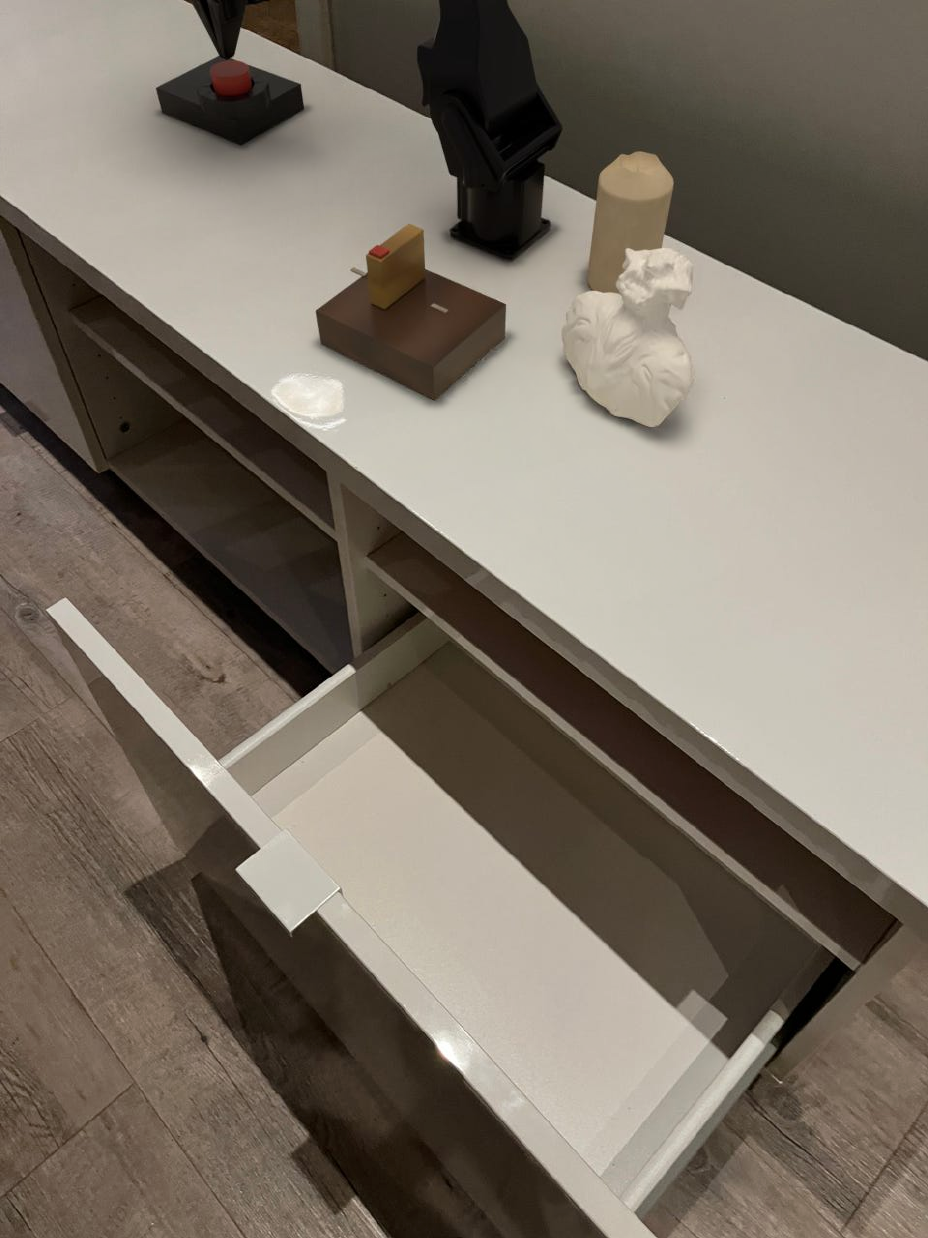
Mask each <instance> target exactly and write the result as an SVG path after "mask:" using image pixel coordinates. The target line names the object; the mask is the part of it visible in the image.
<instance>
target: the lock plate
mask: <svg viewBox="0 0 928 1238" xmlns="http://www.w3.org/2000/svg"><path fill="white" fill-rule="evenodd" d="M350 272H352V273H354V274H356V275H358V276H360V277H359V278H357V279H356V280H355V281H353V282H352V283H350V284H349V285H348V286H346V287H345V288H344V289H342V290H341V291H339V293H337V294H336V295H334V296H333V297H332V298H330V299H328V301H326V302H325V303H323V304H322V305H320V307H318V308H317V309H316V310H315V317H316V322H317V329H318V335H319V341H320V345H322V346H324V347H327V348H328V349H331V350H332V351H333V352H336V353H338V354H341V355H342V356H344V357H347V358H349V359H351V360H352V361H354V362H357V363H358V364H361V365H362V366H364V367H367V368H369V369H370V370H373V371H375V372H377V373H378V374H381V375H382V376H384V377H386V378H389V379H391V380H393V381H394V382H396V383H398V384H400V385H403V386H405V387H407V388H409V389H411V390H413V391H414V392H416V393H418V394H421V395H423V396H425V397H427V398H429V399H431V400H433V401H435V400H437V398H438V397H440V396H441V395H442V394H443V393H444V392H446V390H448V389H449V388H450V387H452V385H453V384H454V383H455V382H456V381H458V380H459V379H460V378H461V377H462V376H464V375H465V374H466V373H467V372H468V371H469V370H470V369H471V368H473V366H475V365H476V364H477V363H478V362H479V361H480V360H481V359H482V358H483V357H484V356H486V355H487V354H488V353H489V352H490V351H491V350H492V349H494V347H496V346H497V345H498V344H500V342H502V340H504V339H505V337H506V318H507V304H506V303H505V302H502V301H500V300H497V299H496V298H493V297H491V296H489V295H486V294H484V293H481V292H479V291H477V290H475V289H472V288H470V287H468V286H465V285H463V284H461V283H459V282H456V281H455V280H452V279H451V278H450V279H449V278H447V277H446V276H443V275H440V274H438V273H437V272H433V271H431V270H429V269H427V268H425V278H424V279H423V280H422V281H421V282H419V283H418V284H417V285H415V286H414V287H413V288H412V289H410V290H409V291H408V292H406V293H405V294H404V295H403V296H401V297H400V298H399V299H398V300H396V301H395V302H394V303H392V304H391V305H390V306H389V307H387V308H386V309H382V308H380V307H378V306H376V305H374V304H372V303H371V302H370V291H369V281H368V271H366V272H365V271H363V270H361V269H358V268H357V267H355V266H354V267H351V268H350Z"/></svg>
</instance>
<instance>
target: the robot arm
mask: <svg viewBox="0 0 928 1238" xmlns="http://www.w3.org/2000/svg"><path fill="white" fill-rule="evenodd" d="M189 1H190V3H191V5H192V6H193V8H194V10H195V11H196V13H197V16H198V17H199V19H200V21H201V23H202V25H203V27H204V29H205V32H206V33H207V35H208V37H209V38H210V41H211V43H212V45H213V47H214V49H215V51H216V53H217V54H218V56H220V57H221V58H223V59H226V60H228V59H230V58H232V59H233V57H235V54H236V50H237V47H238V41H239V38H240V33H241V28H242V24H243V19H244V16H245V12H246V7H247V5H248V1H249V0H189ZM253 1H254V2H258V3H264V2H270V1H271V0H253ZM438 10H439V18H438V24H437V27H436V31H435V35H434V36H433V37H431V38H429V39H428V40H425V41H424V42H423V43H421V44H419V45H418V46H416V47H417V48H416V63H417V67H418V70H419V74H420V78H421V83H422V97H421V98H422V100H421V105H422V107H424V108H425V107H427V106H428V109H429V115H430V116H429V117H430V119H431V123H432V125H433V127H434V130H435V131H436V133H437V135H438V140H439V143H440V146H441V150H442V153H443V157H444V161H445V164H446V167H447V171H448V174H449V175H450V176H452V177H453V178H454V177H455V178H456V213H457V214H456V216H457V219H458V220H459V222H458V223H456V224H455V225H453V226H452V227H451V228H449V237H451V238H452V239H455V240H457V241H459V242H461V243H465V244H467V245H469V246H472V247H474V248H476V249H479V250H481V251H483V252H486V253H488V254H491V255H493V256H496V257H498V258H500V259H503V260H506V261H511V260H514V259H515V258H516V257H517V256H519V255H520V254H521V253H522V252H523V251H525V250H526V249H527V248H528V247H529V246H531V245H532V244H533V243H534V242H535V241H537V240H538V239H539V238H540V237H542V236H543V235H544V234H545V233H546V232H548V231H549V230H550V229H551V223H552V222H551V221H550V219H547V218H545V217H543V216H542V214H543V213H542V212H543V199H544V187H545V185H544V184H545V174H546V173H545V171H546V164H545V163H543V162H541V161H539V160H538V159H540V158H541V157H542V156H544V155H545V154H546V153H547V152H551V151H552V150H554V149H555V148H556V145H557V143H558V141H559V139H560V136H561V134H562V131H563V124H562V122H561V121H560V119H559V117H558V116H557V115H556V113H555V111H554V109H553V108H552V106H551V104H550V103H549V101H548V99H547V97H546V96H545V94H544V92H543V91H542V89H541V88H540V85H539V84H538V82H537V77H536V74H535V73H536V72H535V68H534V63H533V58H532V54H531V49H530V44H529V43H530V42H529V39H528V37H527V34H526V33H525V31H524V29H523V27H522V25H521V24H520V22H519V21H518V18H517V17H516V16H515V14H514V13H513V11H512V9H511V8H510V6H509V3H508V0H438Z"/></svg>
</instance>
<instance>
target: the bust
mask: <svg viewBox="0 0 928 1238" xmlns="http://www.w3.org/2000/svg"><path fill="white" fill-rule="evenodd" d="M625 254H626V260H625V262H624V263H623V265H622V268H623V269H626V270H625V272H624V273H622V274H621V275H620V276H619V277H618V280H617V282H616V287H617V289H618V290H619V293H620V294H621V295H622V296H621V295H620V294H617V293H611V292H608V293H602V292H598V291H593V290H588V291H585V292H583V293H580V294H579V295H576V296H575V297H574V298H573V300H572V302H571V306H570V307H569V308H568V309H567V311H566V314H565V323H564V324H563V326H562V329H561V341H562V344H563V352H564V357H565V358H566V359H567V361H568V362H569V364H570V366H571V368H572V369H573V370H574V372H575V373H576V379H577V382H578V384H579V386H580V388H581V389H582V390H583V391H585V392H586V393H587V394H588V396H589V397H590V398H591V399H593V401H595V402H596V404H598V405H600V406H602V407H604V408H605V409H606V410H608V412H609V413H610V414H611V415H612V416H614V417H619V418H625V419H630V420H633V421H634V422H636V423H638V424H641V425H643V426H646V427H649V428H655V427H658V426H659V425H661V423H662V422H663V421H664V420H665V419H666V418H667V417H668V415H670V414H671V413H672V411H673V410H674V409H675V408H676V407H677V406H678V404H679V403H681V402H682V401H683V400H685V399H686V398H687V397H688V395H689V394H690V392H691V390H692V387H693V385H694V384H695V382H696V379H697V378H696V372H695V371H694V369H693V363H692V355H691V353H690V351H689V350H688V348H687V346H686V344H685V342H684V341H683V339H682V338H681V337H679V334H678V332H677V326H676V324H675V323H674V322H673V321H672V319H671V318H670V317H669V315H670V309H671V306H674V307H675V308H676V309H678V310H679V311H683V309H684V308H685V304H686V301H687V299H688V297H689V296H691V295H692V293H693V282H694V264H693V263H692V262H691V261H690V260H689V259H688V258H686V256H685V255H684V254H681V252H680V250H679V249H678V250H676V249H675V248H670V247H662V248H660V249H654V250H641V251H634V250H632V249H630V248H627V249H626V250H625Z"/></svg>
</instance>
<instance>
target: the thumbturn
mask: <svg viewBox="0 0 928 1238" xmlns="http://www.w3.org/2000/svg"><path fill="white" fill-rule="evenodd" d="M425 254H426V253H425V231H424V229H423V228H420V227H418V226H416V225H413V224H411V223H408V224H407V225H405V226H404V227H402V228H401V229H400V230H398V231H397V232H395V233H393V235H391V236H390V237H388V238H387V239H385V240H384V241H383V242H382V243H380V244H377V245H375V246H373V247H372V248H371V249H369V250H368V253H367V254H366V255H365V259H366V260H365V261H366V272H368V281H369V291H370V302H371V303H372V304H374V305H376V306H378V307H380V308H382V309H386V308H387V307H389V306H390V305H391V304H392V303H394V302H395V301H396V300H398V299H399V298H400V297H401V296H403V295H404V294H405V293H406V292H408V291H409V290H410V289H412V288H413V287H414V286H415V285H417V284H418V283H419V282H421V281H422V280H423V279H424V278H425V269H426V256H425Z"/></svg>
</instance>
